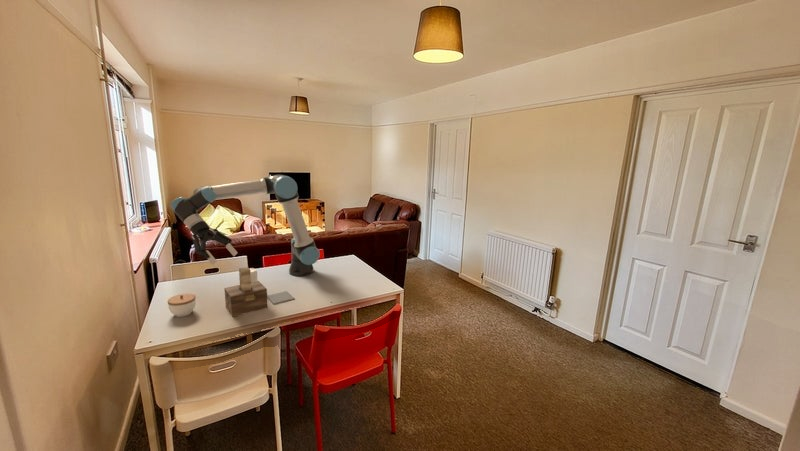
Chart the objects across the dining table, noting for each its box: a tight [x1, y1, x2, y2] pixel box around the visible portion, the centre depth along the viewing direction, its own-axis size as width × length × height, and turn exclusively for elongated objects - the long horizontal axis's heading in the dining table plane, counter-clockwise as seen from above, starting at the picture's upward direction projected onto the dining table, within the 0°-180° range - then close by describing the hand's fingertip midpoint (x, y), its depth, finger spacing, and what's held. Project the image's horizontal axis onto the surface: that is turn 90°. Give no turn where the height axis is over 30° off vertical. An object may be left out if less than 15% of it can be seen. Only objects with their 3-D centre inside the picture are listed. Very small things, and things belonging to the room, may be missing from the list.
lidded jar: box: [167, 293, 197, 318], centre depth 149 cm, size 11×11×9 cm
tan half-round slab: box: [248, 267, 259, 283], centre depth 176 cm, size 8×8×12 cm
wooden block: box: [238, 266, 251, 292], centre depth 156 cm, size 4×4×14 cm
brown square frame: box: [223, 280, 268, 317], centre depth 157 cm, size 13×16×10 cm
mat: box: [267, 290, 295, 305], centre depth 170 cm, size 11×11×1 cm
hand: (225, 258), depth 156 cm, fingers open, 13 cm apart
